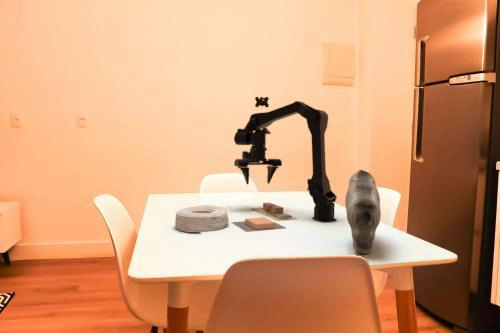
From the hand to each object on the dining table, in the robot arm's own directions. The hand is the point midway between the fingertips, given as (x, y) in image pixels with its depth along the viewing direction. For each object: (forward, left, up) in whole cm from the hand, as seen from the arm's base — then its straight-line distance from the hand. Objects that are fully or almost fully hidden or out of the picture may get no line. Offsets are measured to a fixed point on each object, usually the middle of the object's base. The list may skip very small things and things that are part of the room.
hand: (258, 183), depth 147 cm
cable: (+28, +20, -12) cm, 36 cm away
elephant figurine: (-8, +54, -11) cm, 56 cm away
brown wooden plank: (-2, +12, -10) cm, 16 cm away
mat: (+11, +26, -11) cm, 30 cm away
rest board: (-2, +10, -11) cm, 15 cm away
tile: (+11, +23, -9) cm, 27 cm away
